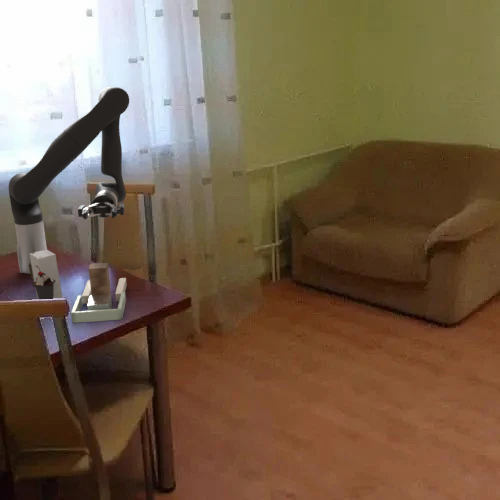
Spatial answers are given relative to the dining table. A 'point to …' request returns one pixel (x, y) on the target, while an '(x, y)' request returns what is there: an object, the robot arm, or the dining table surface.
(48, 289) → the sundae
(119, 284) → the slot rails
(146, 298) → the dining table surface
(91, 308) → the grey rectangular block
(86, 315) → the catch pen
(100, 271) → the block
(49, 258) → the skincare box
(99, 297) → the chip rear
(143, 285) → the dining table surface
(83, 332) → the dining table surface
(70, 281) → the dining table surface
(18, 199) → the robot arm
